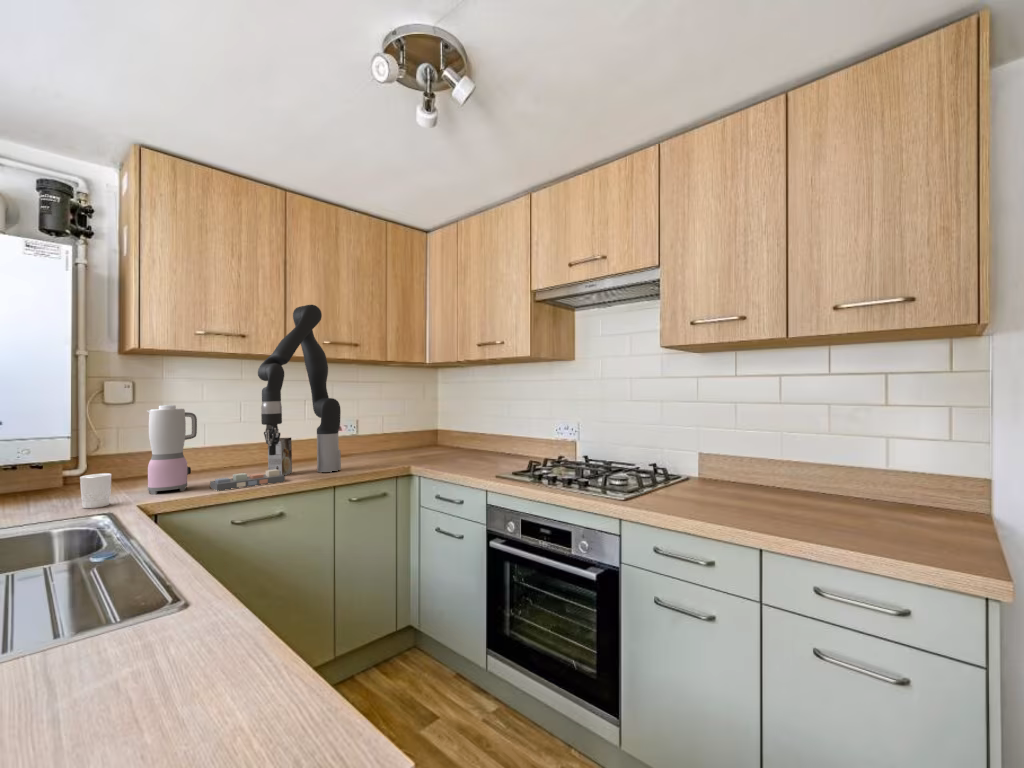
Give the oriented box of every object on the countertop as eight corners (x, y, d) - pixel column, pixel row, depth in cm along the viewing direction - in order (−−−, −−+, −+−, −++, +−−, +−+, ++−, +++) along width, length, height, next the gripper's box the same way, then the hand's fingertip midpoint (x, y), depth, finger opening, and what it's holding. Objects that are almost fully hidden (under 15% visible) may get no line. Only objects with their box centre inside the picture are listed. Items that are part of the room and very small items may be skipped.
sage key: (244, 480, 194) (244, 473, 194) (247, 481, 191) (247, 474, 191) (232, 482, 191) (232, 474, 192) (235, 483, 189) (235, 475, 189)
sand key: (276, 476, 203) (275, 469, 203) (279, 477, 200) (279, 470, 200) (265, 477, 200) (265, 470, 200) (269, 478, 197) (268, 471, 197)
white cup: (79, 506, 160) (79, 475, 161) (110, 502, 166) (110, 472, 166) (81, 510, 155) (80, 478, 155) (113, 505, 160) (112, 475, 160)
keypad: (276, 479, 205) (275, 473, 205) (284, 481, 198) (284, 475, 198) (210, 487, 189) (210, 481, 189) (217, 491, 181) (217, 484, 181)
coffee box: (278, 473, 220) (277, 437, 221) (292, 473, 220) (292, 437, 221) (267, 477, 211) (267, 439, 211) (282, 476, 211) (282, 439, 211)
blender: (149, 495, 175) (148, 406, 176) (144, 491, 184) (144, 406, 185) (201, 489, 186) (200, 404, 186) (194, 485, 195) (193, 404, 195)
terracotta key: (260, 480, 198) (260, 473, 198) (263, 482, 196) (263, 474, 196) (249, 482, 196) (249, 474, 196) (252, 483, 193) (252, 475, 193)
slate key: (227, 485, 190) (227, 477, 190) (230, 486, 187) (229, 478, 187) (215, 486, 187) (215, 478, 187) (218, 488, 184) (218, 480, 184)
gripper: (287, 412, 198) (287, 455, 198) (275, 411, 208) (276, 453, 207) (267, 413, 193) (268, 457, 193) (256, 412, 202) (257, 454, 202)
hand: (272, 455), depth 200 cm, fingers closed
